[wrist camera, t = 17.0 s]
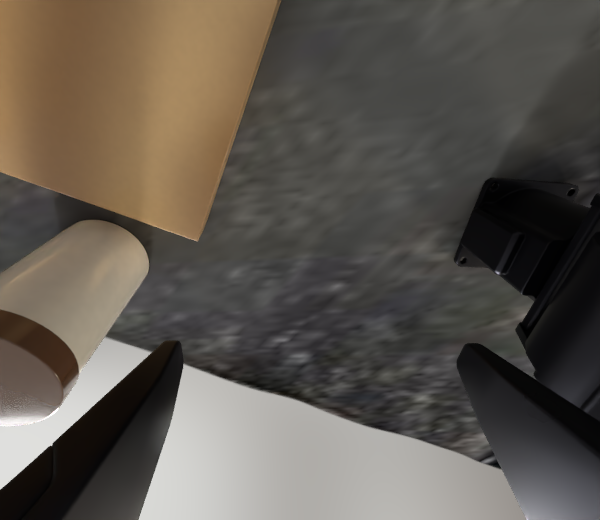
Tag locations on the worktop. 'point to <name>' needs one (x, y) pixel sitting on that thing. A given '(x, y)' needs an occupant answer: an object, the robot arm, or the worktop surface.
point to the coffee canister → (61, 313)
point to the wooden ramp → (128, 99)
